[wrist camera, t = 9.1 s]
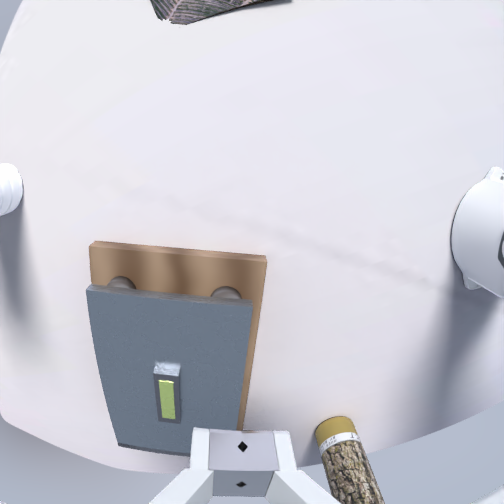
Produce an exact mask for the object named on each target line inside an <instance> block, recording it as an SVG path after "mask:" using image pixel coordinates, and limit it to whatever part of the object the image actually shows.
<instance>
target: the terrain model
mask: <svg viewBox="0 0 504 504" xmlns="http://www.w3.org/2000/svg"><path fill="white" fill-rule="evenodd" d="M151 1H152V4H153V7H154V9H155V12H156V15H157V17H158V18H159V19H160V20H162V21H163V19H165V20H166V19H168V18H169V21H172V22H171V23H172V24H182V25H183V24H184V25H187V24H190V23H193V22H196V21H199V20H201V19H204V18H208V17H211V16H214V15H217V14H221V13H224V12H227V11H231V10H234V9H238V8H241V7H246V6H250V5H254V4H258V3H262V2H267V1H272V0H151Z"/></svg>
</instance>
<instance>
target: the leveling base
mask: <svg viewBox="0 0 504 504" xmlns="http://www.w3.org/2000/svg"><path fill="white" fill-rule="evenodd" d="M89 257H90V271H91V282H92V284H97V285H105V286H113V287H121V288H130V289H139V290H148V291H157V292H167V293H177V294H187V295H198V296H209V297H221V298H234V299H247V300H252V303H253V311H252V318H251V326H250V334H249V341H248V349H247V356H246V364H245V371H244V378H243V386H242V393H241V400H240V408H239V415H238V422H237V429H236V431H241V430H242V428H243V422H244V416H245V409H246V403H247V396H248V390H249V383H250V377H251V370H252V364H253V357H254V350H255V344H256V337H257V330H258V323H259V316H260V309H261V302H262V295H263V288H264V281H265V274H266V267H267V260H266V256H264V255H252V254H240V253H229V252H217V251H206V250H194V249H183V248H171V247H160V246H148V245H137V244H126V243H114V242H103V241H95V242H93V243H92V244H91V245H90V246H89Z"/></svg>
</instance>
